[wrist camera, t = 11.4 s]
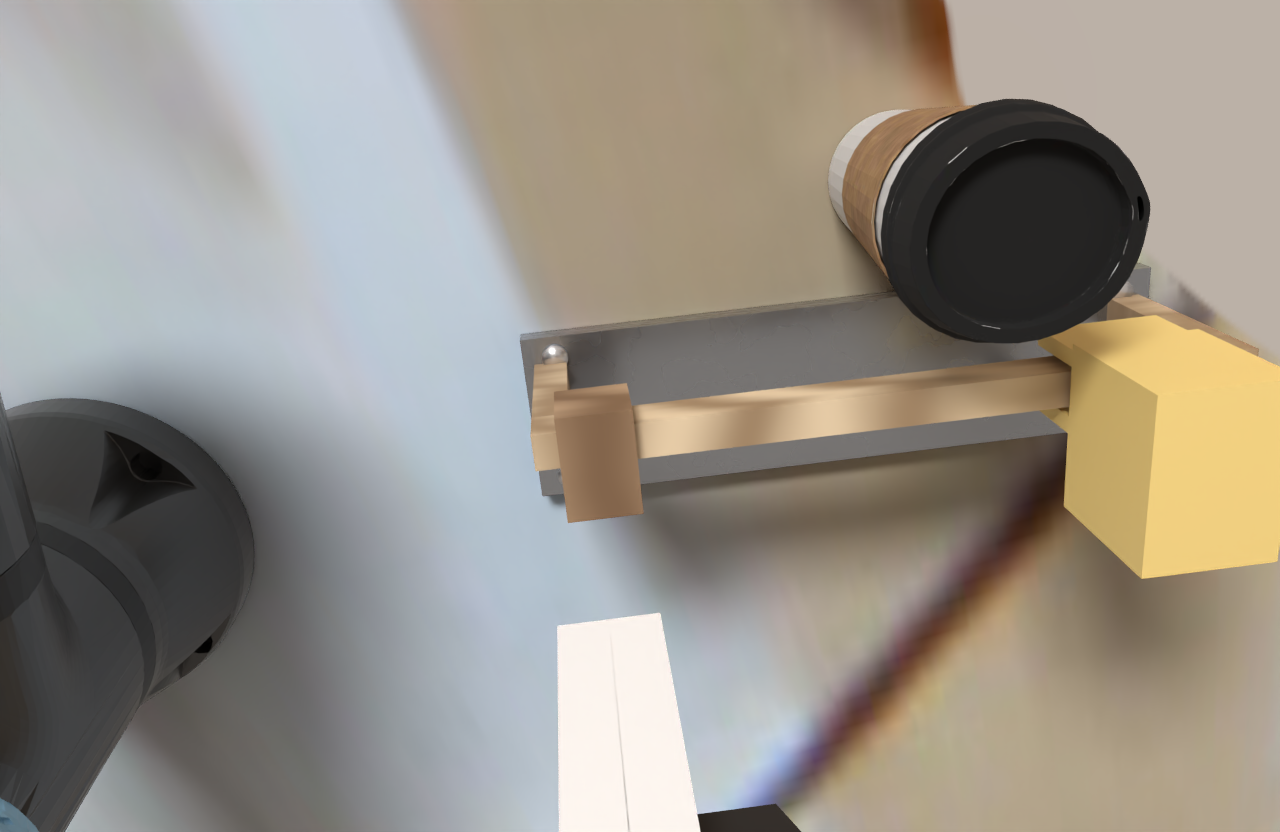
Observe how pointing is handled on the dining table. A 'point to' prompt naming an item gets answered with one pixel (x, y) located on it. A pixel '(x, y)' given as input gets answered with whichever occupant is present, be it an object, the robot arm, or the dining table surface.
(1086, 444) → the slider head
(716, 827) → the robot arm
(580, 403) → the bar
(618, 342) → the hole plate
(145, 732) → the dining table surface
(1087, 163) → the coffee cup
